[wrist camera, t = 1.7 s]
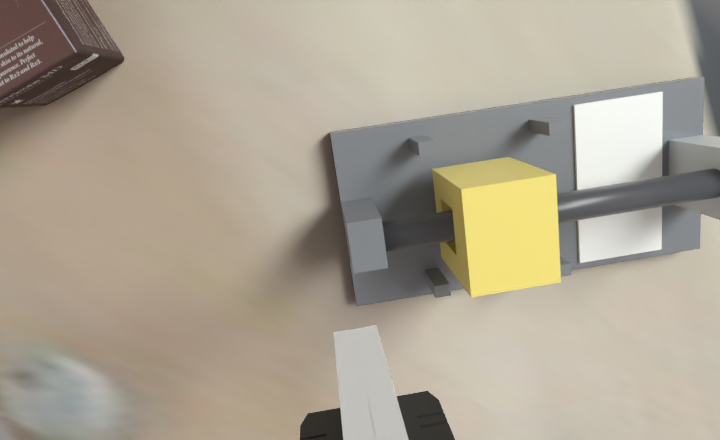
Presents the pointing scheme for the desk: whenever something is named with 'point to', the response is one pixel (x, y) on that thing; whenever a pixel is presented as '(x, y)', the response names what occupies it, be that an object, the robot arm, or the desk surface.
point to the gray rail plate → (543, 150)
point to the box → (50, 50)
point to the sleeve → (500, 225)
